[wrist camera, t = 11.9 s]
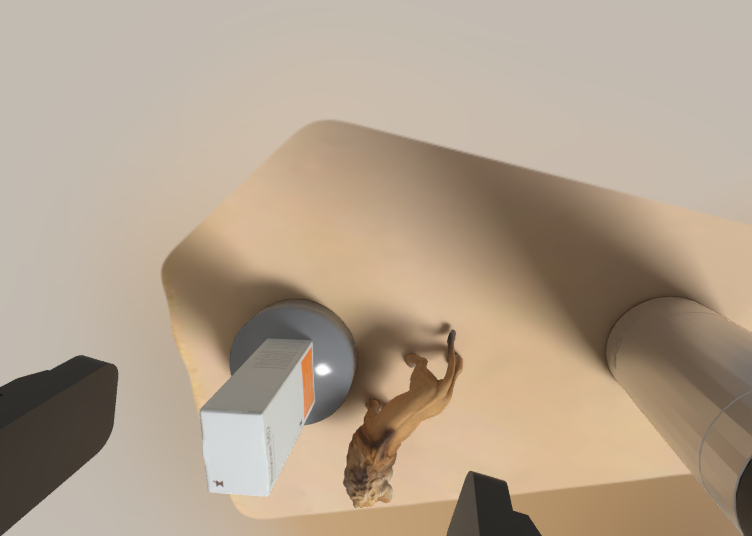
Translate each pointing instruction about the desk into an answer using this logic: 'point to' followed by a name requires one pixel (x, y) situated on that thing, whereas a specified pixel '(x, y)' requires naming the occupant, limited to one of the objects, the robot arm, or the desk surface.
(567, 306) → the desk surface
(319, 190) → the desk surface
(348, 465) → the lion figurine
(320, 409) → the grey rounded flat disc
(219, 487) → the skincare box
